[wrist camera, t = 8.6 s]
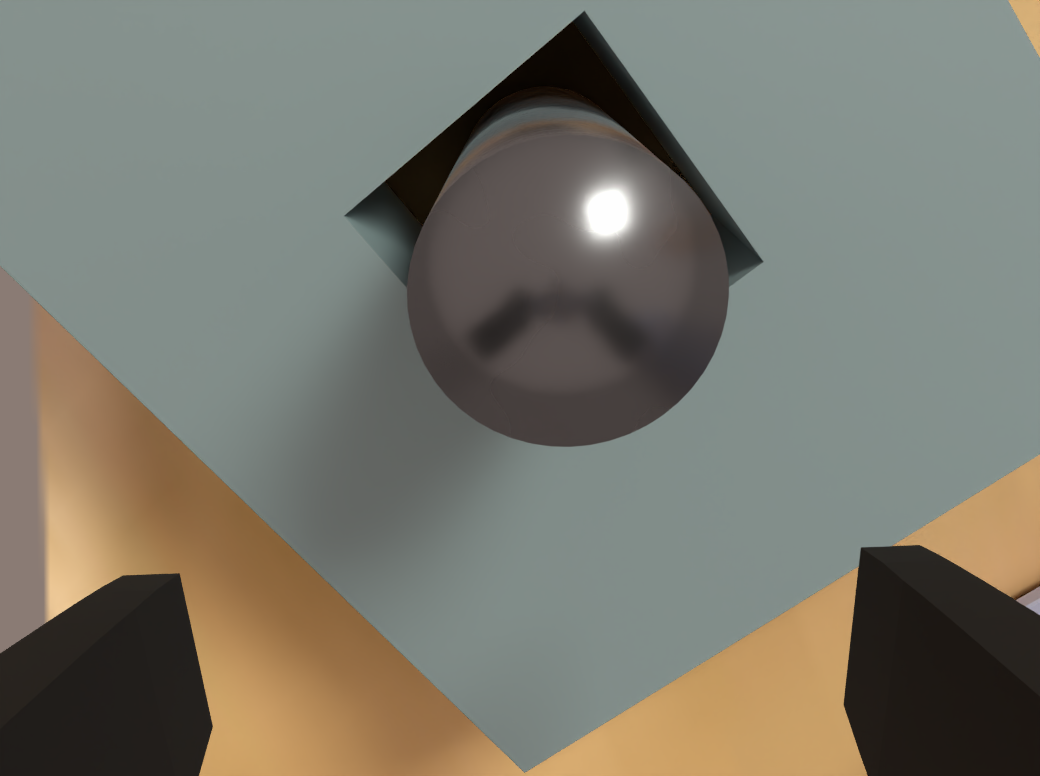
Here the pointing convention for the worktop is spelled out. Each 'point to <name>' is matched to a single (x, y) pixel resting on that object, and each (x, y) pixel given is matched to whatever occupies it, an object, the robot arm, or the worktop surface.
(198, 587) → the worktop surface
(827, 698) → the worktop surface
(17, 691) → the robot arm
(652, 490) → the hole block
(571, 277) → the long pin
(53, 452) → the worktop surface
